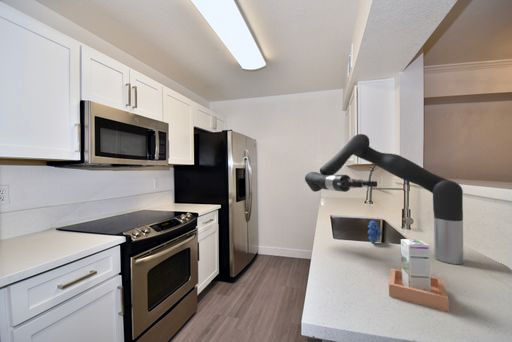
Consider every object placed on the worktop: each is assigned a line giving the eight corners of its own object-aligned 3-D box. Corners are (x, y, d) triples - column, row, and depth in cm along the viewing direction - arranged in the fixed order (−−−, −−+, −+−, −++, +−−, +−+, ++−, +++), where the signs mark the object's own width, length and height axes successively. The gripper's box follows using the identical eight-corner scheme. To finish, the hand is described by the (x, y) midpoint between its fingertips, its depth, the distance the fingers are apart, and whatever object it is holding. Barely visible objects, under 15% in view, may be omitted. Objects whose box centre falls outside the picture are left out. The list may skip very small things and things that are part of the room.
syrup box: (431, 295, 64) (431, 245, 65) (409, 293, 66) (408, 243, 66) (421, 285, 70) (420, 239, 70) (400, 283, 71) (400, 238, 71)
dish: (391, 278, 77) (391, 268, 77) (441, 289, 69) (441, 278, 70) (389, 295, 66) (389, 284, 66) (448, 311, 58) (448, 298, 58)
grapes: (379, 247, 109) (379, 223, 109) (364, 244, 114) (364, 221, 114) (385, 242, 118) (385, 219, 118) (371, 239, 122) (371, 217, 122)
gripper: (326, 174, 99) (356, 174, 85) (349, 174, 106) (381, 174, 91) (326, 191, 99) (356, 194, 85) (349, 190, 105) (381, 193, 91)
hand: (369, 184), depth 88 cm, fingers open, 8 cm apart
